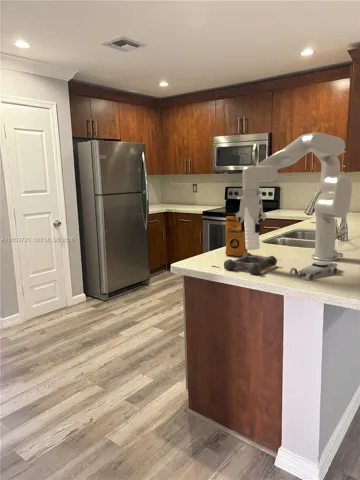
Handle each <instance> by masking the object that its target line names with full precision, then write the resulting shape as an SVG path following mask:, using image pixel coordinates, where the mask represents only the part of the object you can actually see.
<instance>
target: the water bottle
mask: <svg viewBox="0 0 360 480" xmlns="http://www.w3.org/2000/svg"><path fill="white" fill-rule="evenodd" d="M242 197H243V196H237V197H236V198H237V200H241V198H242ZM255 225H256V221H255V218H251V216H250V214H249V212H248V208H247V207H245V216H244V227H245V228H244V229H245V239H246V240H245V243H246V249H247V250H249V251H253V250H254V251H255V250H259V249H260V248H261V247H260V245H261V244H260V239H259V238H260V235H259V234H260V232H258V233H256V232H255Z"/></svg>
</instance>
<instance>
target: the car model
mask: <svg viewBox="0 0 360 480" xmlns="http://www.w3.org/2000/svg"><path fill="white" fill-rule="evenodd" d="M338 265H339V264H338V263H336V262H332V261H315V262H313V263H312V264H310V265H307V266H304V267H303V268H302V269H300V270H298V269H297V268H296V267H291V268H290V271H289V275H290V276H291V277H293V278H295V279H299V280H305V281H313V280H315V279H318V278H322V277H326V276H333V274H334V275H337V274H338V273H339V272H340V270H339V269H338ZM321 276H322V277H321Z"/></svg>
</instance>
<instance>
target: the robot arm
mask: <svg viewBox="0 0 360 480" xmlns="http://www.w3.org/2000/svg"><path fill="white" fill-rule="evenodd" d="M345 149H346V143H345V141H344V140H343V139H342V138H341V137H339V136H335V135H331V134H327V133H323V132H317V131H316V132H310V133H305V134H302V135H300V136H298V137H297V138H296V139H295V140H293V141H292V142H291V143H289V144H288V145H287V146H285V147H284V148H282V149H281V150H279V151H276V152H275V153H273V154H272V155H270V156H268V157H266V158H265V159H263V160H262V161H261V162H259V163H257V165H253V166H252V165H251V166H250V165H249V166H248V165H247V166H244V167H243V168H242V196H241V197H242V198H241V199H240V204H239V210H238V211H237V212H236V213H235V217H237V218H238V220H239V221H240V223H241V229H242V232H243V231H245V229H244V228H245V227H244V216H245V207H247V208H248V212H249V214H250V216H251V218H255V221H256V225H255V232H256V233H258V232H259V233H261V224H262V223H263V222H264V221H265V219H267V218H268V216H267V214H266V213H265V212H264V210H263V201H262V196H260V195H262V193H263V192H262V191H261V190H260V183H269V182H273V181H274V180H276V179H277V177H278V170H280V169H284V168H286V167H289V166H292V165H294V164H295V163H297V162H298V161H299V160H300V159H302V158H303V157H304V156H306V155H307V154H308V153H312V152H313V154H314V155H315V156H316V158H317V159H318V160H319V162H320V164H321V171H320V181H319V191H320V192H321V193H322V194H324V195H333V196H331V197H329V196H324V197H320V198H318V199H317V200H316V201H315V203H314V213H315V214H314V215H315V243H314V244H315V245H314V253H313V254H312V255H311V258H312V259H314V260H317V261H321V262H323V261H324V262H332V261H337V260H338V258H343V257H344V253H342V252H338V251H337V250H338V249H336V237H337V236H336V234H337V222H336V218H338V219H340V218H344V217H346V216H347V214H348V213H349V211H350V207H351V200H352V194H353V193H352V192H353V183H352V180H351V178H350V177H348V176H347V175H343V174H341V173H340V171H341V163H340V160H339V158H338V157H339V156H340V155H342V154H343V152H344V151H345Z"/></svg>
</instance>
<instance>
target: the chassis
mask: <svg viewBox="0 0 360 480" xmlns="http://www.w3.org/2000/svg"><path fill="white" fill-rule="evenodd" d="M277 264H278V260H277V258H276V257H275V256H274V255H269V256H267V257H258V256H253V255H252V253H250V252H247V253H245V254H243V256H241V257H239V258H237V259H235V260H233V259H230V258H229V259H226V260H225V261H224V262H223V269H225V270H226V271H237V272H243V273H248V274H250V275H253V276H255V275H258V276H259V275H261V276H263V275H265V274H267V273H269V272H271V271H273V270H275V269H277V268H278V266H277Z"/></svg>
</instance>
